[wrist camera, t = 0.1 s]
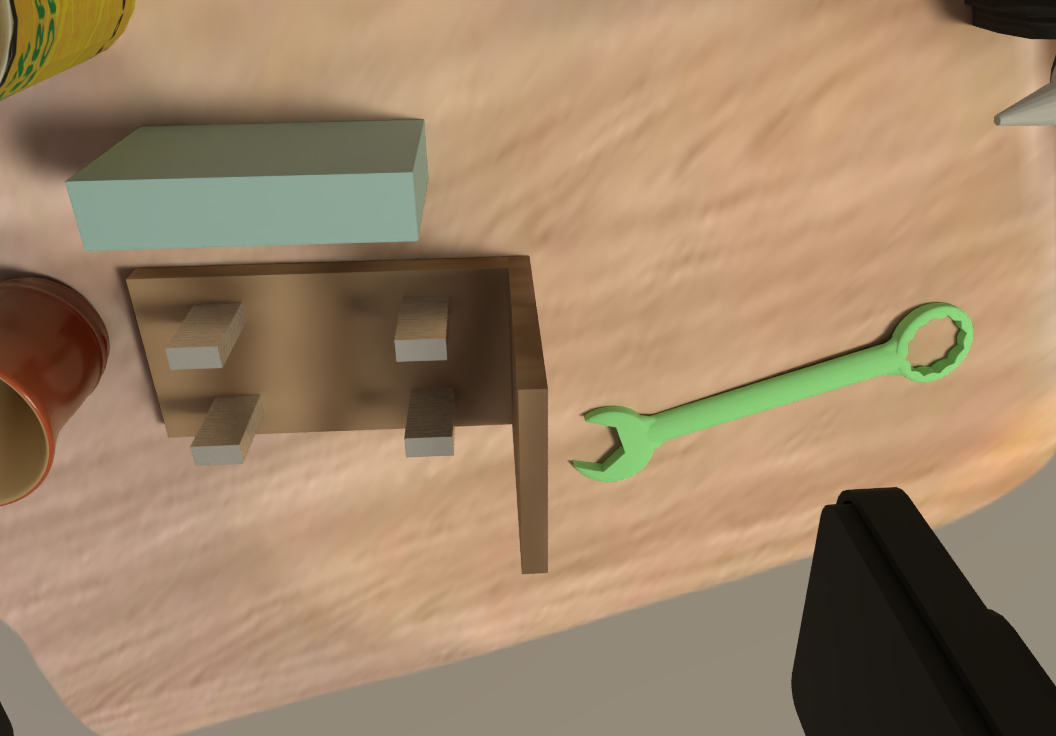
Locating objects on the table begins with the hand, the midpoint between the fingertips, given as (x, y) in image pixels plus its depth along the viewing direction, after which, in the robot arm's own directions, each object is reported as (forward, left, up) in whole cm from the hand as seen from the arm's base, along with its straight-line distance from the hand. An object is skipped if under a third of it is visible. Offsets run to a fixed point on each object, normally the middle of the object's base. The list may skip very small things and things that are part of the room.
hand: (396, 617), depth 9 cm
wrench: (+20, +18, -37) cm, 46 cm away
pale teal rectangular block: (+5, -9, -37) cm, 38 cm away
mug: (+13, -25, -37) cm, 46 cm away
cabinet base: (+16, -8, -37) cm, 41 cm away
